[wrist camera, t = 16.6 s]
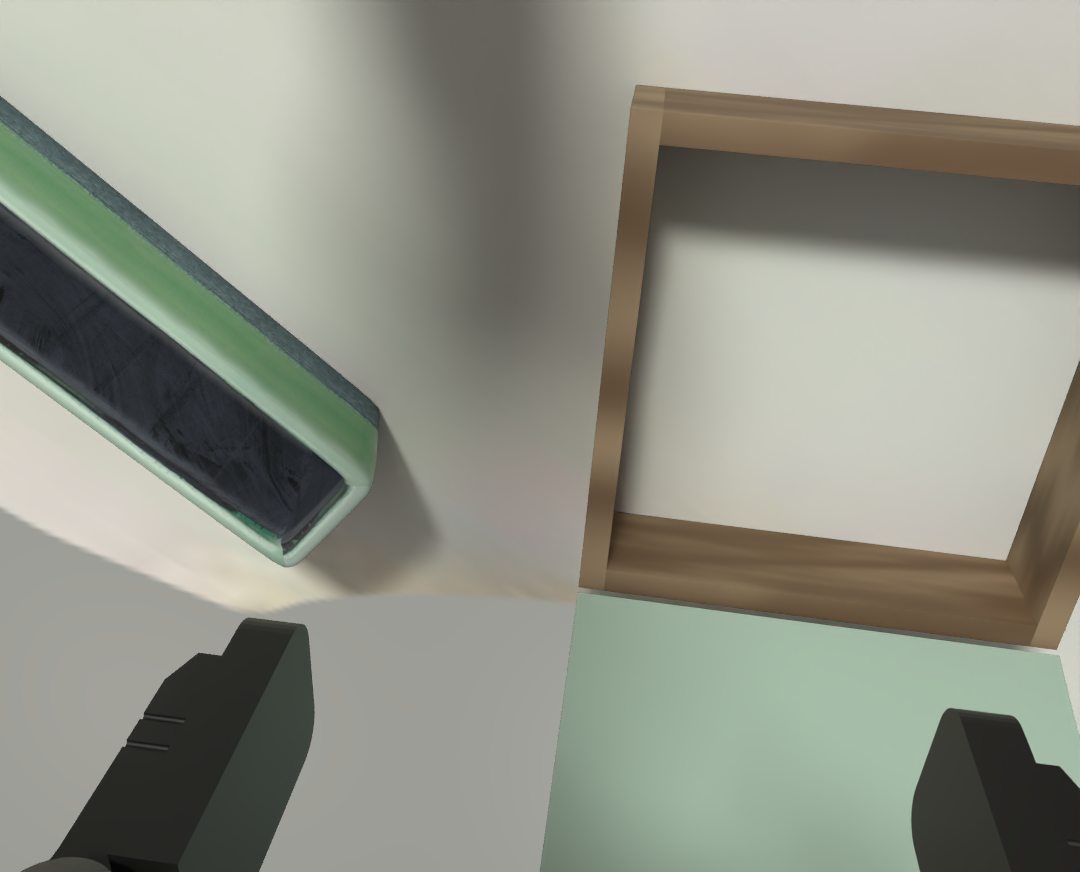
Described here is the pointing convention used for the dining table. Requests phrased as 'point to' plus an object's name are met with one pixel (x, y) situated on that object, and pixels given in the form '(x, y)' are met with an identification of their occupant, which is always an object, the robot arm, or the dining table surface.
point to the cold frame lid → (766, 738)
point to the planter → (171, 356)
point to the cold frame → (803, 561)
